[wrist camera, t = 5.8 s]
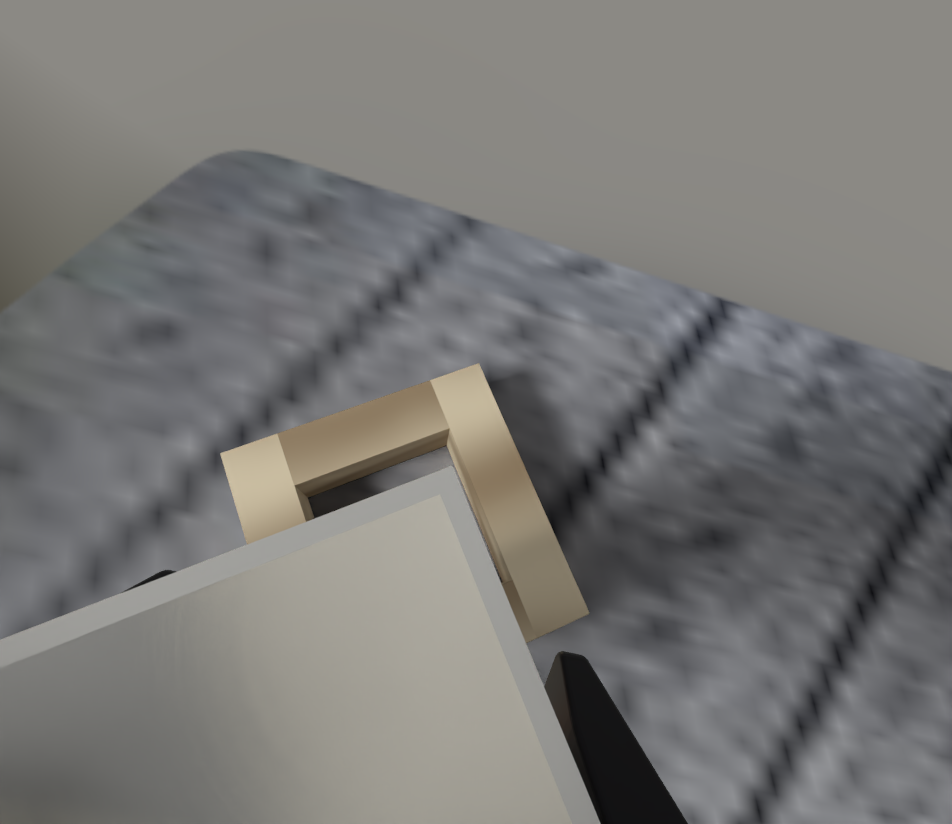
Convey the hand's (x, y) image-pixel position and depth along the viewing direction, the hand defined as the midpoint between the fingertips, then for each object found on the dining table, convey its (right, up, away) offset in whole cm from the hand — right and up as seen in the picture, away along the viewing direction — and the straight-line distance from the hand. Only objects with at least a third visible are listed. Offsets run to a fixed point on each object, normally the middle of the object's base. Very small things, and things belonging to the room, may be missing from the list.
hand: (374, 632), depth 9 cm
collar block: (-1, -2, +13) cm, 13 cm away
